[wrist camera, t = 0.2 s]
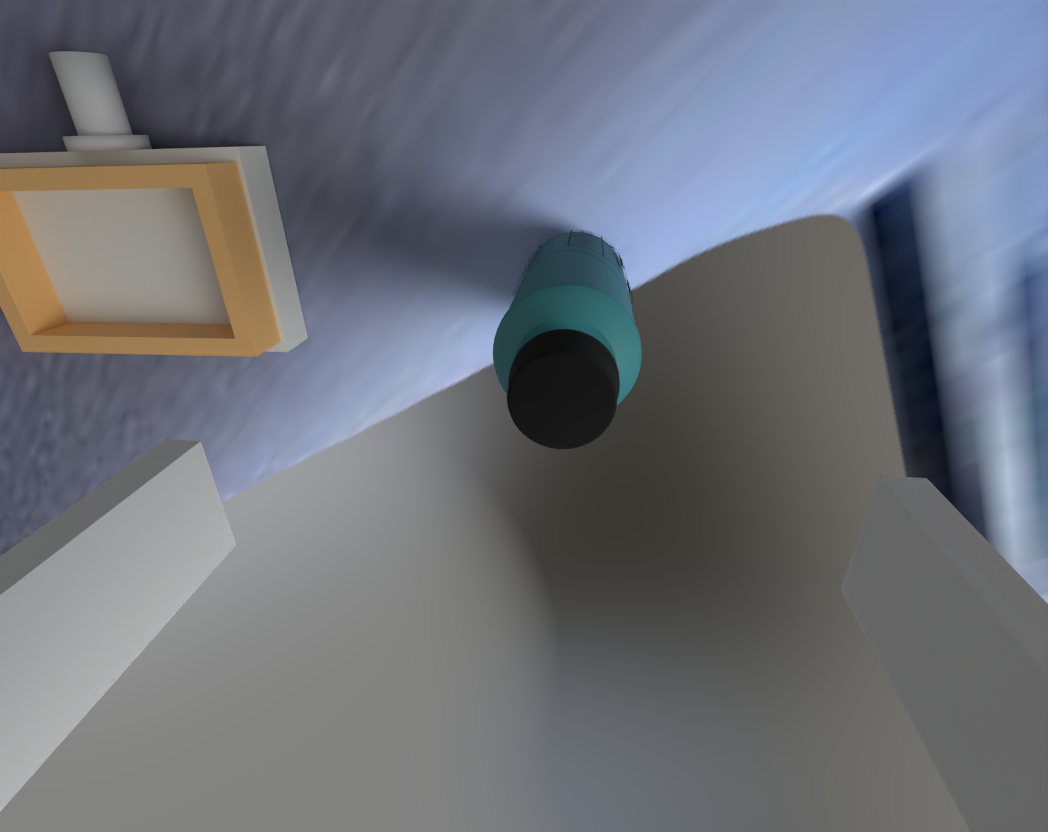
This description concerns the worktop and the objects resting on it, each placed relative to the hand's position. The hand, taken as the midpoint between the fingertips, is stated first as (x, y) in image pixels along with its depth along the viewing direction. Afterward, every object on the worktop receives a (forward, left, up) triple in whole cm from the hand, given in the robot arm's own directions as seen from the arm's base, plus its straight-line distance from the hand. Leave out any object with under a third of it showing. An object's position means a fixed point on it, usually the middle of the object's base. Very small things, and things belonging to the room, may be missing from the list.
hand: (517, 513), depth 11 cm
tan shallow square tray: (-3, -29, -28) cm, 40 cm away
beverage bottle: (+2, 0, -28) cm, 28 cm away
